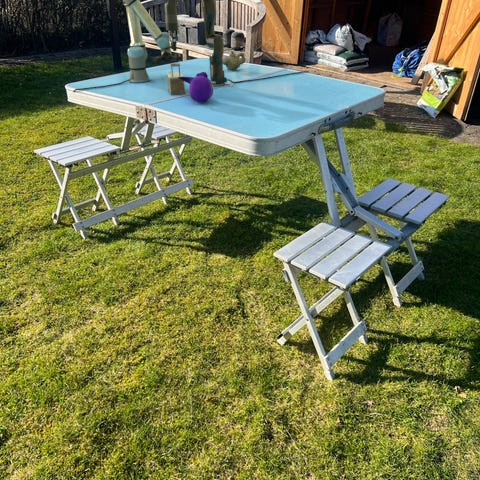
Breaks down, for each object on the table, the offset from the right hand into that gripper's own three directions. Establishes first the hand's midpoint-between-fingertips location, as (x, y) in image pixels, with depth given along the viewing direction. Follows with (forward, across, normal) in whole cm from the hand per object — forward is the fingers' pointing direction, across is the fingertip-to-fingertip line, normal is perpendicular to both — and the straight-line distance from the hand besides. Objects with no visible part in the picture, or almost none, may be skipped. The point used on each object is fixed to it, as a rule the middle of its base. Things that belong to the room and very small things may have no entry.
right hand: (173, 50), depth 286 cm
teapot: (+27, +73, -56) cm, 96 cm away
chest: (+27, +6, 0) cm, 28 cm away
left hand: (+11, +32, +2) cm, 34 cm away
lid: (+17, +6, 0) cm, 18 cm away
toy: (+27, -23, -10) cm, 37 cm away
